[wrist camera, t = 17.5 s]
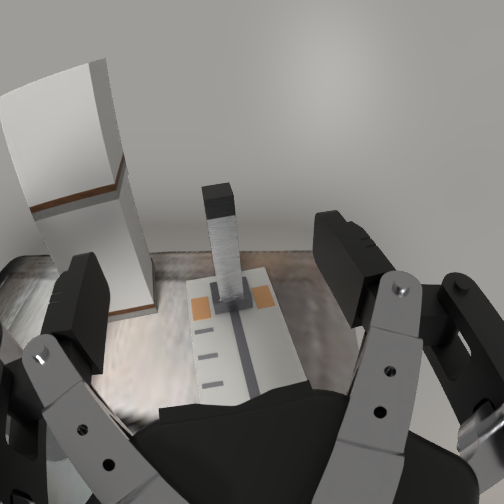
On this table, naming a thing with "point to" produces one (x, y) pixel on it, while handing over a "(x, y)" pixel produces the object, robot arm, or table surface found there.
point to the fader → (225, 251)
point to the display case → (80, 180)
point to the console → (240, 344)
